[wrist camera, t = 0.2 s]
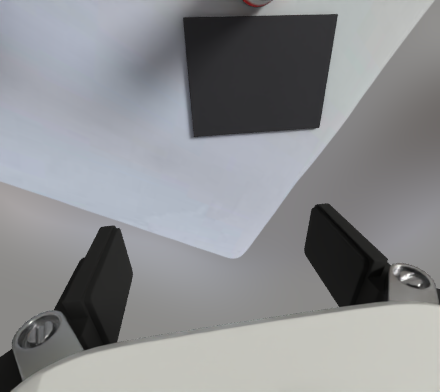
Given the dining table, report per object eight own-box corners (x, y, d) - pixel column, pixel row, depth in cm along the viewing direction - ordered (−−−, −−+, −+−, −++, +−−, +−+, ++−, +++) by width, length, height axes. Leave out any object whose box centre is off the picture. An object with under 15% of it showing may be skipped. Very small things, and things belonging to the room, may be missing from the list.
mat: (183, 18, 32) (183, 17, 32) (335, 15, 34) (337, 14, 34) (193, 135, 40) (194, 136, 39) (317, 126, 42) (319, 127, 42)
